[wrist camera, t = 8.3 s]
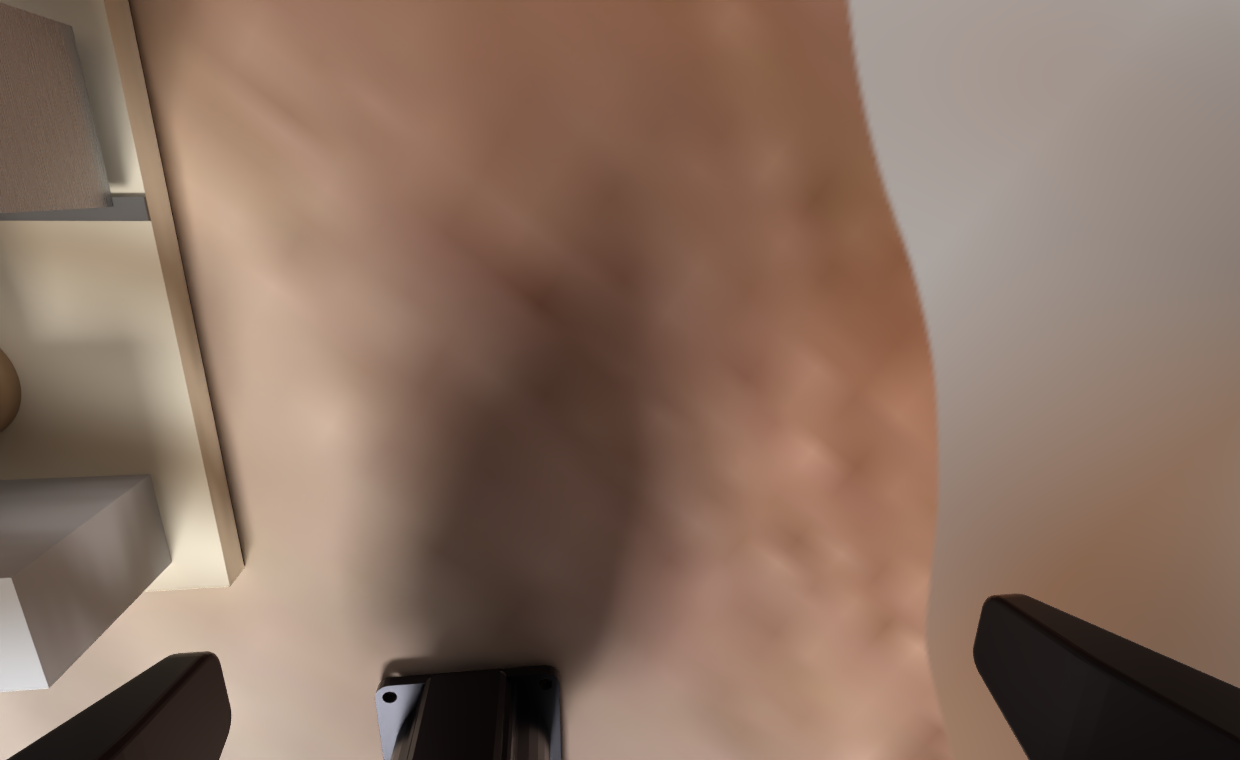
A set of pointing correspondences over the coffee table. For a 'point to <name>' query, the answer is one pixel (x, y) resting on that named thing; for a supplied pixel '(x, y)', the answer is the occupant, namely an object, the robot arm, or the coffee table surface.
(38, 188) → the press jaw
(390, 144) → the coffee table surface
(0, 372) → the tan rounded knob
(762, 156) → the coffee table surface
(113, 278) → the press base
